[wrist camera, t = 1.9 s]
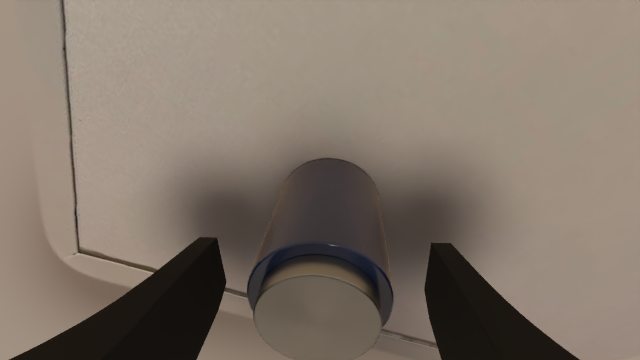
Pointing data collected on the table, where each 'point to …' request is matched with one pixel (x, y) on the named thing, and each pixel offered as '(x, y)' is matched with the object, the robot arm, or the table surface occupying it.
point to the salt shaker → (323, 266)
